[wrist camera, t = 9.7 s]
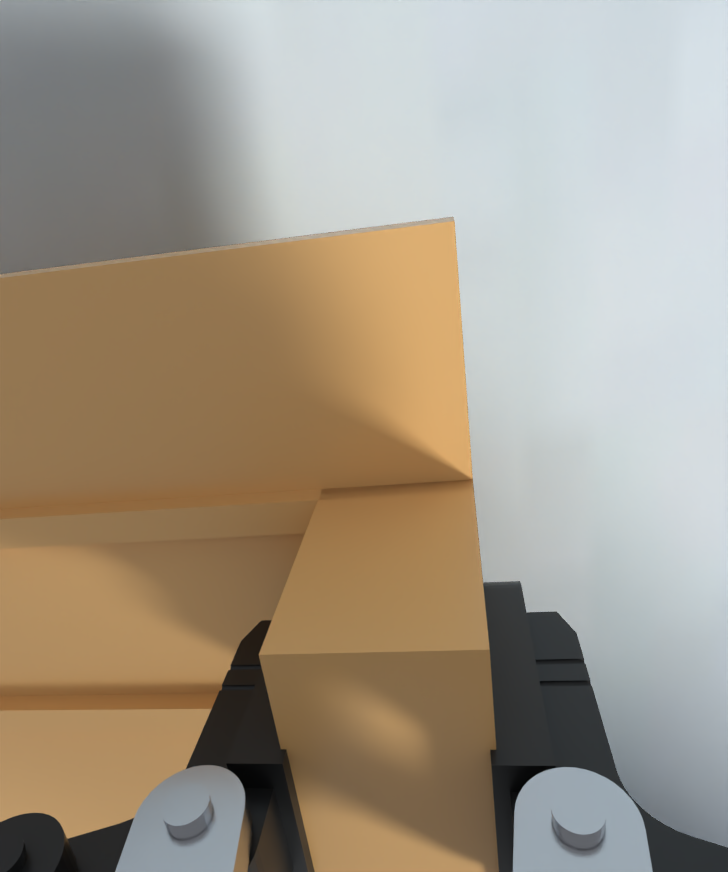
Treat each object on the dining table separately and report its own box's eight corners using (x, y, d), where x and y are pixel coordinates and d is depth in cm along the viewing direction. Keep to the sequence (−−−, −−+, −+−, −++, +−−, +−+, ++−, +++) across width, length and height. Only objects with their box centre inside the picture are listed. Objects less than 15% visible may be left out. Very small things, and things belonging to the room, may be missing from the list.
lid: (451, 211, 11) (463, 255, 5) (491, 757, 16) (520, 1111, 10) (-339, 312, 14) (-945, 419, 8) (-102, 755, 18) (-363, 1033, 12)
